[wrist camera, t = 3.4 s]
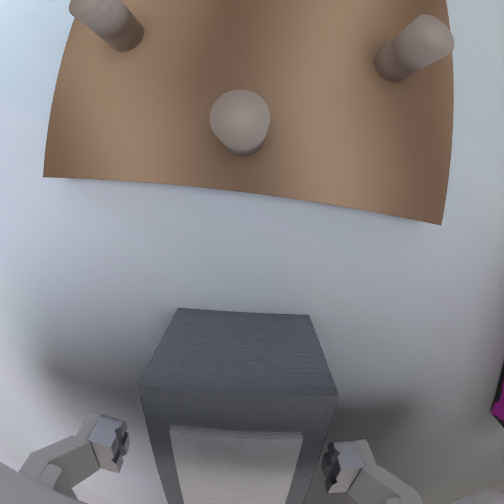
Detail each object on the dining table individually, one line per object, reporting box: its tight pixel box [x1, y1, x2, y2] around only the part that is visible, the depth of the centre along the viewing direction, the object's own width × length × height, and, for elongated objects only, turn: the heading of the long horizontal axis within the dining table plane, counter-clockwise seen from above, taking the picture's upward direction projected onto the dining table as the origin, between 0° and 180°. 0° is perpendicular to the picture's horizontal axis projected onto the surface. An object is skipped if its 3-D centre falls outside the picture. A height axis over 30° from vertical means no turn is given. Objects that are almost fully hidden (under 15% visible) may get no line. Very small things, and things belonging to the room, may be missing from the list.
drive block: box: [139, 308, 338, 504], centre depth 10 cm, size 5×9×5 cm, turn 177°
